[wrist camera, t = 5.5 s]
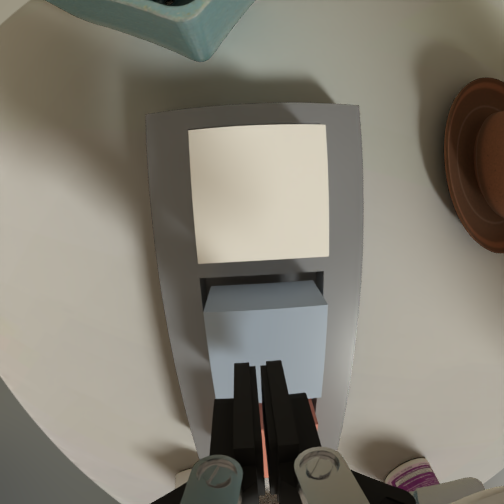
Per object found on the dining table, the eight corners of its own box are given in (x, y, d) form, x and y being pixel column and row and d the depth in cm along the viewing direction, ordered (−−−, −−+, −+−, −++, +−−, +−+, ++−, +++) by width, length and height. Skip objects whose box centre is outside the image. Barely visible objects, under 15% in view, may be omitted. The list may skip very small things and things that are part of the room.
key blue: (313, 280, 15) (328, 304, 12) (310, 363, 16) (321, 397, 13) (211, 286, 15) (203, 312, 12) (220, 369, 16) (216, 404, 13)
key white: (309, 134, 13) (325, 124, 10) (312, 240, 14) (329, 256, 12) (200, 139, 13) (188, 130, 10) (207, 245, 14) (198, 263, 12)
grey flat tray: (343, 113, 15) (358, 105, 13) (330, 428, 20) (337, 450, 18) (159, 122, 15) (145, 114, 13) (202, 436, 20) (199, 459, 18)
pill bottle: (375, 478, 23) (400, 547, 14) (418, 451, 22) (452, 518, 13) (394, 488, 24) (418, 547, 15) (432, 463, 23) (463, 521, 14)
